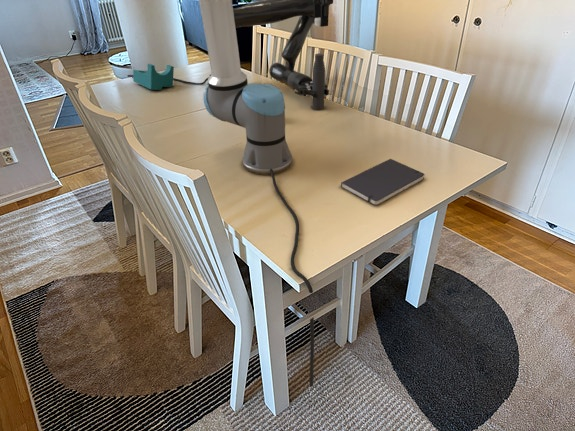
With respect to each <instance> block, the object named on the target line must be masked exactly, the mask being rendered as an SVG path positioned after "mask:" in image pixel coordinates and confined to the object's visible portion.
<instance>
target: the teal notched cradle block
mask: <svg viewBox="0 0 575 431" xmlns="http://www.w3.org/2000/svg"><path fill="white" fill-rule="evenodd" d="M174 70H175V66H173V65H171V64H167V65H166V68H165V70H164V71H163V72H161V73H160V72H158V71H157V70H156V66H155V65H154V64H152V63H147V70H143V69H141V70H140V69H133V70H132V75H133V77H132V81H133V82H134V83H136V84H138V85H141V86H143V87H144V88H147V89H149V90H154V91H155V90H157V91H158V90H159V91H163V87H164V88H165V87H166V88H174V80H173V78H174Z"/></svg>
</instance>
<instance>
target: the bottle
mask: <svg viewBox="0 0 575 431" xmlns="http://www.w3.org/2000/svg"><path fill="white" fill-rule="evenodd" d="M324 56H325V54H324V53H321V52H320V53H315V54H314V63H313V66H312V81H313V89H312V90H313V91H315V92H317V98H314V97H312V96H311V98H312V101H311V108H312V109H313V110H314V111H322V110H324V109H325V96H326V95H325V84H326V67H325V61H324Z"/></svg>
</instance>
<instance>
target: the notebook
mask: <svg viewBox="0 0 575 431" xmlns="http://www.w3.org/2000/svg"><path fill="white" fill-rule="evenodd" d="M424 176H425V173H424V172H422V171H420V170H417V169H415V168H413V167H410V166H408V165H406V164H404V163H401V162H399V161H397V160H395V159H393V158H389V159H387V160H385V161H382V162H380V163H379V164H377V165H375V166H372V167H370V168H368V169H366V170H364V171H362V172H360V173H358V174H356V175H353V176H351V177H350V178H348V179H345V180H344V181H341V182H340V183H341V184H340V187H341V188H342V189H344V190H345V191H347V192H349V193H350V194H353V195H355V196H356V197H358V198H360V199H362V200H363V201H365V202H367V203H369V204H371V205H373V206H379V205H381V204H382V203H384V202H386V201H388V200H390V199H391V198H393V197H395V196H397V195H398V194H400V193H402V192H404V191H406V190H407V189H409V188H411V187H413V186H415V185H416V184H418V183H420V182H422V181H423V180H424Z"/></svg>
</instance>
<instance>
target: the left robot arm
mask: <svg viewBox="0 0 575 431" xmlns="http://www.w3.org/2000/svg"><path fill="white" fill-rule="evenodd" d="M321 1H322V0H321ZM233 13H234V21H235V29H238V28H243V27H256V26H264V25H270V24H276V23H279V22H283V21H286V20H289V19H292V18H296V17H299V18H298V20H297V22H296V24H295V27H294V29H293V30H292V32H291V34H290V36H289V38H288V40H287V42H286V44H285V46H284V47H283V50H282V51H281V56H280V57H281V58H282V59H283V60H284V62H285V63H284V64H285V65H284V64H282V63H281V62H277V61H276V62H274V63H272V64H271V65H270V67H269V69H268V72H269V75H270V78H272V79H274V80H276V81H278V82H279V83H281V84H284V85H285V86H286V87H289V88H290V89H292V91H294V95H298V96H301V97H307V96H308V97H311V98H312V97H314V98H317V92H315V91H313V90H312V89H313V78H311V76H309V75H306V74H305V73H303V72H300V71H296V70H295V66H296V62H297V60H298V57H299V55H300V53H301V52H302V49H303V47H304V45H305V42H306V40H307V37H308V34H309V32H310V30H311V28H312V26H313V25H314V3H313V1H311V0H257V1H253V2H251V3H248V4H246V5H245V4H244V5H242V6H240V7H235V8H234V7H233ZM211 74H212V73H211ZM211 74H209V76H208V77H206V78H205V79H204V81H201V82H193V81H187V80H183V79H179V78H176V77H173V81H176V82H180V83H184V84H187V85H188V84H189V85H195V86H203V85H205V84H206V83H207V82H208V78H209V77H210V76H211ZM127 77H129V78H133V74H127ZM329 95H330V89H328V84H326V83H325V95H324V96H329Z"/></svg>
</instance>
